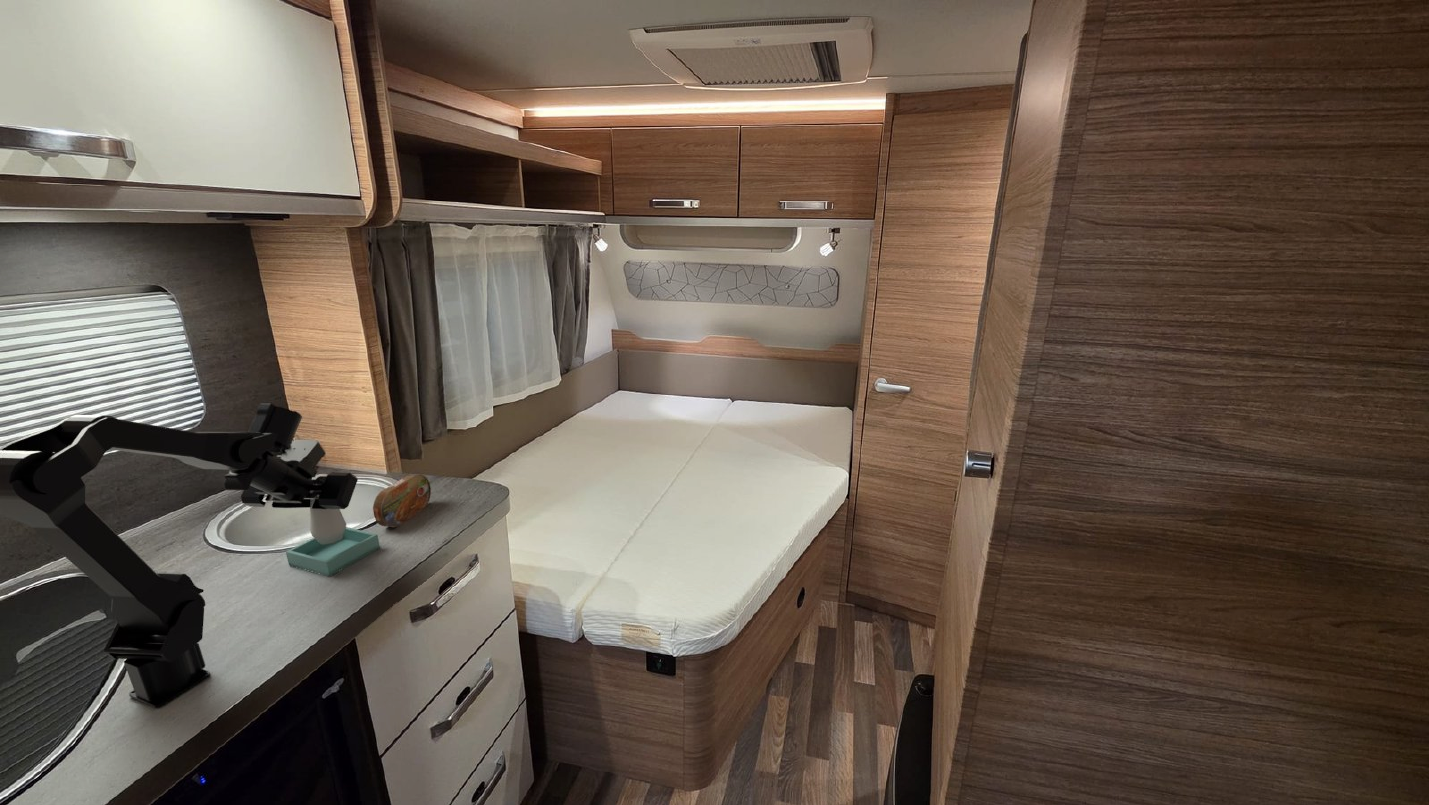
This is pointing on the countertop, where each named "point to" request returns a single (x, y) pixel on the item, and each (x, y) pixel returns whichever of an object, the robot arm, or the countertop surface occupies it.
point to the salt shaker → (326, 523)
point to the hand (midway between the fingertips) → (329, 504)
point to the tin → (402, 500)
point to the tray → (333, 552)
